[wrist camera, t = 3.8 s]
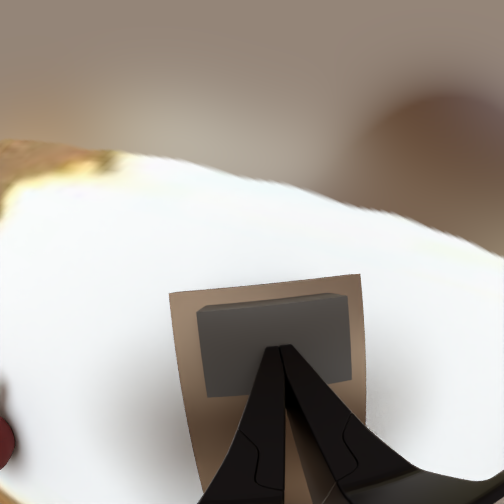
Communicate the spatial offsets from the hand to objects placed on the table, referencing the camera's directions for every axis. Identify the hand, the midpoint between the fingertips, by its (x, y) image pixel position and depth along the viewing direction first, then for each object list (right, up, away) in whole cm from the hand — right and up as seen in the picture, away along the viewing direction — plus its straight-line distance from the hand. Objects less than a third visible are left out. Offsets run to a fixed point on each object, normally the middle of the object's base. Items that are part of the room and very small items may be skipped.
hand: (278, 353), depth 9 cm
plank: (0, -5, +4) cm, 6 cm away
